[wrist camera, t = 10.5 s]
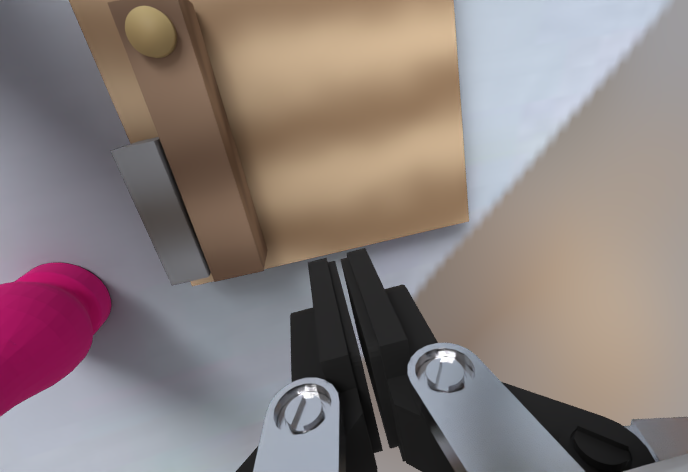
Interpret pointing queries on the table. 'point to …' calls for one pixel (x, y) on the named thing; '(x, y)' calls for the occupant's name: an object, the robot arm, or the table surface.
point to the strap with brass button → (193, 130)
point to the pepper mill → (47, 327)
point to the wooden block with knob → (307, 123)
